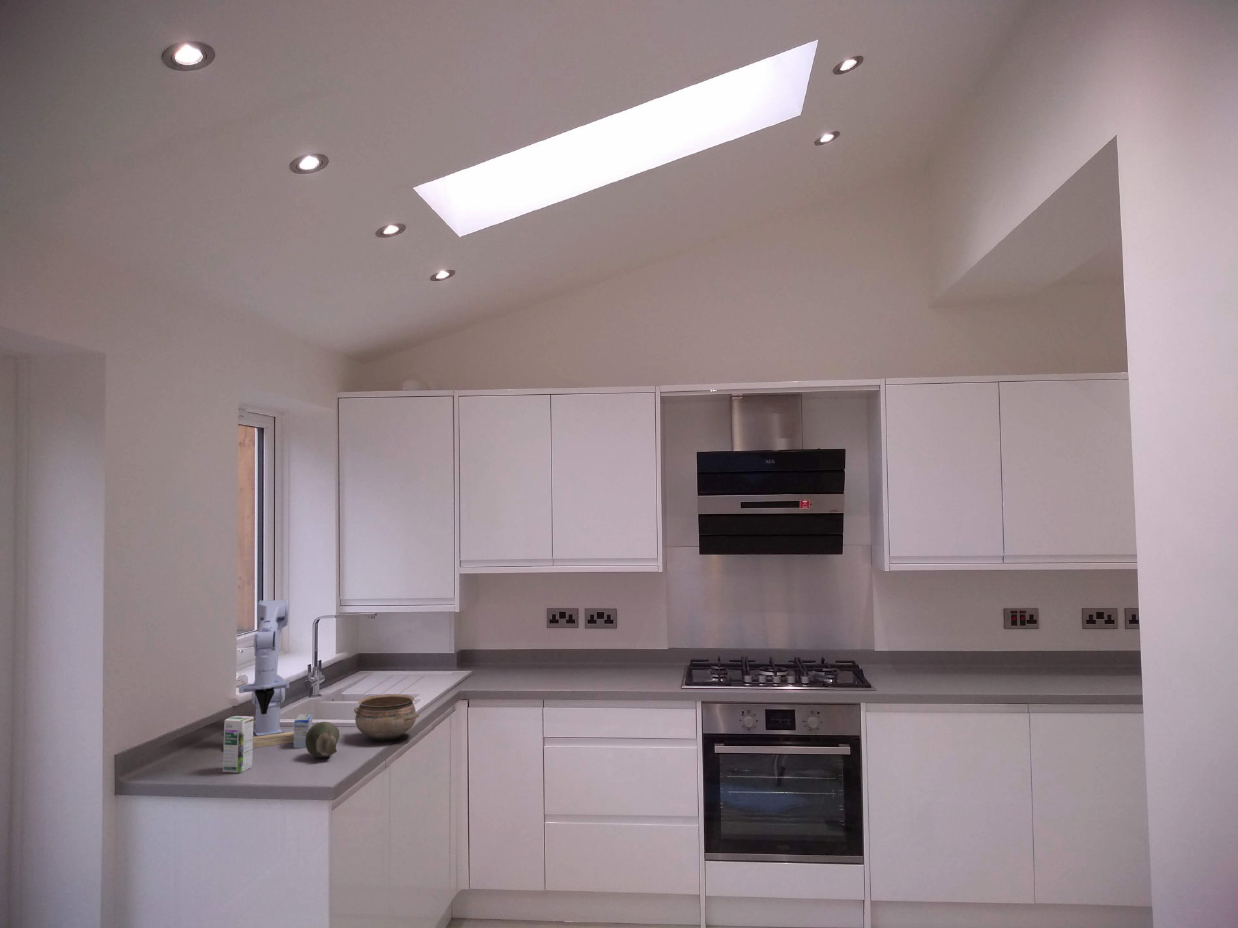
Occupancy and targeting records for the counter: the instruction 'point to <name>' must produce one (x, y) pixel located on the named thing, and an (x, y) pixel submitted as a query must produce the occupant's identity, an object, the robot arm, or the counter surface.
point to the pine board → (272, 739)
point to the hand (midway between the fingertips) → (263, 713)
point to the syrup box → (238, 744)
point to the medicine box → (301, 729)
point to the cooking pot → (385, 716)
